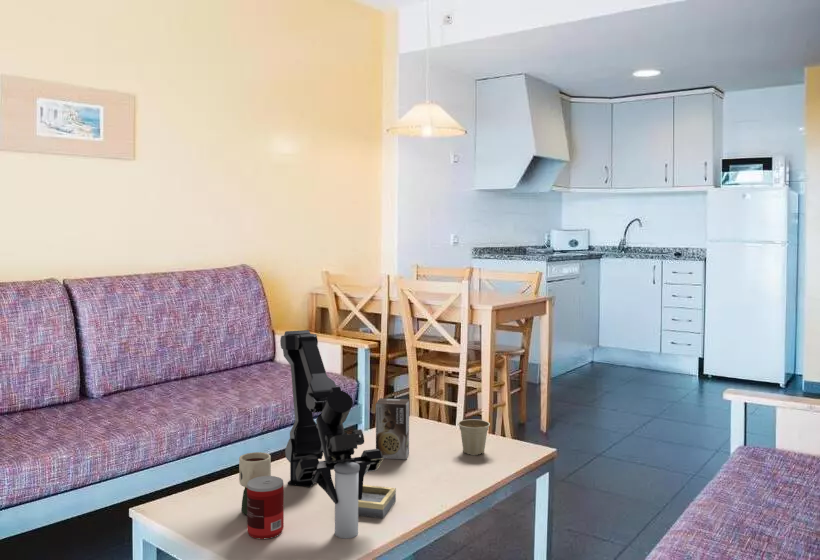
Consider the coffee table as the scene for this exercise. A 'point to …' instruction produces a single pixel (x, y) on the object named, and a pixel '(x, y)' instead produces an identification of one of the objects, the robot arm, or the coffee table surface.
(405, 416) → the coffee box
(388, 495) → the tan rimmed dish
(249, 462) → the character mug
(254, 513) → the canned food
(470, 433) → the flower pot
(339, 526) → the tall white tube
